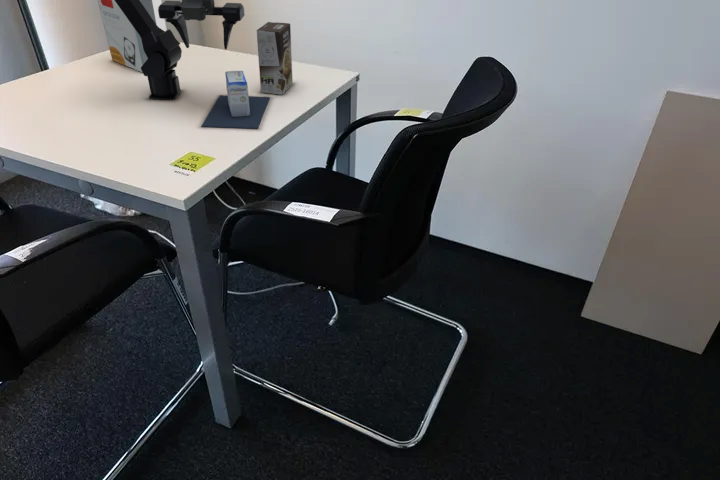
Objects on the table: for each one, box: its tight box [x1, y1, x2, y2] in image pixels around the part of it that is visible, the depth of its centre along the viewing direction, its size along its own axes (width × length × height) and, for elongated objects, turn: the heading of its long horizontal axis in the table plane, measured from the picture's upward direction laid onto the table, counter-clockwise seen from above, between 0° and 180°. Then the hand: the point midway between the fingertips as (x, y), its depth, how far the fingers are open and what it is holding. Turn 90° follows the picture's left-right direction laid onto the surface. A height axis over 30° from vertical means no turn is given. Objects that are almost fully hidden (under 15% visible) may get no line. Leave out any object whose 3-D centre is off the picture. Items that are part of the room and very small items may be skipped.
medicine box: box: [224, 70, 250, 117], centre depth 129 cm, size 8×4×9 cm, turn 17°
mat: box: [200, 95, 271, 130], centre depth 132 cm, size 13×19×1 cm
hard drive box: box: [97, 0, 157, 73], centre depth 152 cm, size 16×8×20 cm, turn 53°
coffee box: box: [256, 21, 293, 96], centre depth 141 cm, size 9×6×16 cm
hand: (207, 48), depth 130 cm, fingers open, 9 cm apart
